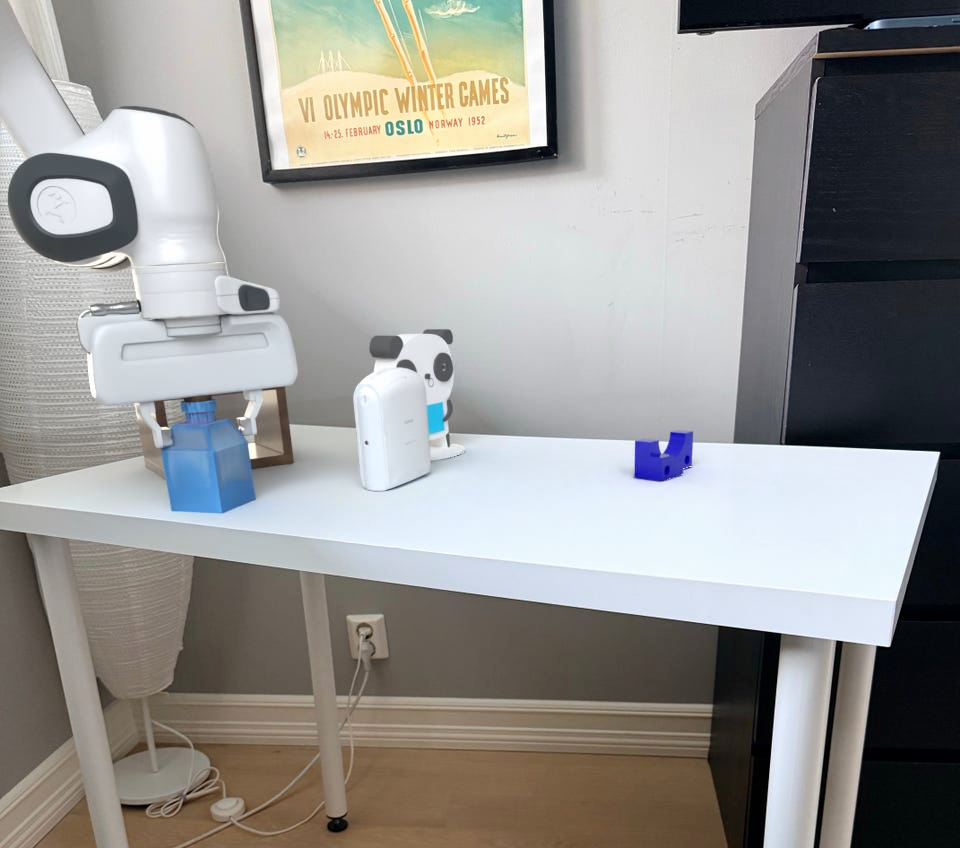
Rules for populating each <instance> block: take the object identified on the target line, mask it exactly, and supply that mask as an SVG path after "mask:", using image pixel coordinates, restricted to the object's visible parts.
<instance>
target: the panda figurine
mask: <svg viewBox="0 0 960 848" xmlns="http://www.w3.org/2000/svg"><path fill="white" fill-rule="evenodd" d="M453 341H454V334H453V332H452V330H451V329H448V328H427V329H424V330H423V331H422V333H399V334H396V335H374V336H373V337H372V338H371V339H370V341H369V348H368V349H369V353H370V356H371V357H372V358H375V363H374V367H373V372H375V371H377V370H379V369H382V368H388V367H395V368H407V369H410V370H412V371H414V372H416V373H418V374H419V375H420V376H421V378H422V379H423V381H424V384H425V388H426V399H427V413H428V427H429V442H430V458H431V461H439V460H440V461H441V460H447V459H450V457H451V458H455V457H458V456H457V455H459V456H461V455H463V454H465V453H466V447H465V446H464V445H462V444H457V443H451V438H450V431H449V419H450V418H451V416H452V414H453V409H454V408H453V403H452V400H451V399H449V397H450V395H451V393H452V390H453V386H454V381H455V368H454V361H453V358H452V357H453V356H452V354H451V350H450V347H449V345H452V344H453ZM464 452H465V453H464ZM460 454H461V455H460ZM454 456H455V457H454Z"/></svg>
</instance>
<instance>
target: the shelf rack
mask: <svg viewBox="0 0 960 848" xmlns="http://www.w3.org/2000/svg"><path fill="white" fill-rule="evenodd" d="M262 393H263V402H262V405H261V407H260V410H259V412H258V415H257V417H256V418H255V421H256V428H257V435H253V439H254V442H251V443H250V442H249V443H248V448H249V455H250V462H251V469H252V470H253V469H260V468H266V467H273V466H279V465H288V464H294V463H295V460H294V451H293V443H292V435H291V434H292V433H291V426H290V425H291V424H290V419H289V410H288V408H289V407H288V401H287V392H286V386H283V387H274V388H265V389H262ZM237 394H244V393H243V391H239V392H230V393H221V394H212V397H219V396H228V395H237ZM178 400H180V401H181V400H184V399H183V398H177V399H168V400H159V401H154V405H155V411H156V412H155V413H150V415H151V416H152V417H153V418H154V420H155V421H156V422H157V423H158V425H159V426H160V427H168V428H169V424H168V418H167V411H166V406H165V402H168V401H178ZM133 405H134V410H135V414H136V415H135V416H136V421H137V426H138V432H139V437H140V443H141V449H142V454H143V460H144V466H145V468H148V469H149V470H150V471H152V472H154V473H155V474H156V475H158V476H159V477H161V478H162V479H163V480H165V481H166V477H165V471H164V465H163V459H162V454H161V450H162V448H157V447H156V446H155V443H154V438H153V432H152V429H150V427H149V426H148V425H147V424H146V423H145V421H144V420H143V419H142V418H141V417H140V415H139V414H138V413H137V409H136V404H135V403H133Z"/></svg>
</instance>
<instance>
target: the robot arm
mask: <svg viewBox="0 0 960 848" xmlns="http://www.w3.org/2000/svg"><path fill="white" fill-rule="evenodd" d="M0 122H1V124H2V126H3V127H4V129H5V130H6V131H7V133H8V135H9V136H10V137H11V140H13V142H14V144H15V145H16V147H17V148H18V150H19V152H20V153H21V155H22V156H23V157H24V159H25V160H24V161H23V162H22V163H21V164H20V165H19V166H18V167H17V168H16V170H15V171H14V172H13V174H12V176H11V179H10V181H9V183H8V188H7V189H8V190H7V208H8V213H9V217H10V220H11V222H12V224H13V227H14V229H15V231H16V232H17V234H18V235H19V237H20V238H21V239H22V241H23V242H24V243H25V244H26V245H27V246H28V247H29V248H30V249H31V250H33V251H34V252H35V253H37V255H40V256H42V257H43V258H46V259H48V260H50V261H52V262H55V263H58V264H61V265H64V266H70V267H77V268H87V269H90V270H92V271H96V272H101V273H115V272H119V271H123V270H125V269H127V268H129V267H131V273H132V278H133V285H134V289H135V297H136V300H129V301H127V300H126V301H119V302H115V303H114V302H113V303H102V302H101V303H100V302H98V303H92V304H89V305H88V308H86V309H83V310H82V311H81V312H80V313H79V314H78V316H77V317H76V320H75V329H76V334H77V339H78V343H79V345H80V347H81V349H82V350H83V351H84V352H85V353H86V354H87V356H86V357H87V371H88V372H87V373H88V381H89V387H90V393H91V395H92V397H93V399H95V401H97V402H98V403H99V404H101V405H103V406H106V407H114V406H124V405H132V404H133V405H135V404H136V409H137V413H138V414H139V415H140V417H141V418H142V419H143V420H144V421H145V423H146V424H147V425H148V426H149V427H150V429H152V432H153V438H154V443H155V446H156V447H157V448H163V447H169V446H173V440H172V439H171V436H172V435H171V428H169V426H168V427H160V426H159V425H158V423H157V422H156V421H155V420H154V418H153V417H152V416H151V415H150V413H155V412H156V411H155V405H154V401H159V400H168V399H177V398H186V397H194V396H201V395H212V394H221V393H230V392H239V391H243V393H242V394H243V399H244V400H246V401H248V404H247V406H246V410H245V412H244V415H243V416H241V417H236V423H237V426H238V427H237V429H238V430H239V431H240V433H241V434H242V435H243V436H244V437H249V436H254V435H257V428H256V421H255V418H256V417H257V415H258V412H259V410H260V407H261V405H262V402H263V393H262V389H265V388H274V387H283V386H285V387H291V386H292V385H294V383H295V381H296V380H297V378H298V376H299V368H298V361H297V355H296V350H295V346H294V341H293V338H292V334H291V331H290V327H289V325H288V323H287V322H286V320H285V319H284V318H283V317H282V316H281V315H280V314H278V313H275V312H277V311H278V310H279V309H280V306H281V303H280V302H281V299H280V295H279V292H278V291H277V290H276V289H274V288H272V287H270V286H269V287H268V286H264V285H261V284H258V283H253V282H250V281H248V280H245V279H239V278H235V277H231V276H230V275H229V271H228V264H227V260H226V259H227V258H226V256H225V253H224V251H223V248H222V246H221V244H220V239H219V234H218V233H219V230H218V229H219V221H220V210H219V202H218V197H217V190H216V184H215V180H214V174H213V170H212V166H211V165H212V164H211V161H210V157H209V152H208V150H207V146H206V143H205V140H204V139H203V136H202V135H201V132H200V131H199V129H197V128H196V127H195V126H194V124H192V123H191V122H190V121H189V120H187V119H186V118H185V117H184V116H181V115H179V114H177V113H174V112H169V111H167V110H165V109H164V110H163V109H159V108H155V107H147V106H141V105H123V106H120V107H116V108H114V109H113V110H112V111H111V112H110V113H109V114H108V116H107V117H106V118H105V119H104V120H103V121H102V122H101V123H100V124H99V125H98V126H96V127H95V128H93V129H92V130H90V131H89V132H87V133H85V132H84V130H83V128H82V127H81V125H80V124H79V122H78V121H77V118H76V117H75V116H74V114H73V112H72V111H71V109H70V108H69V106H68V104H67V103H66V101H65V100H64V98H63V96H62V95H61V93H60V92H59V90H58V88H57V87H56V85H55V84H54V82H53V80H52V79H51V77H50V75H49V73H48V72H47V71H46V69H45V67H44V66H43V64H42V62H41V61H40V59H39V57H38V55H37V54H36V52H35V51H34V49H33V47H32V45H31V43H30V42H29V40H28V38H27V36H26V34H25V32H24V30H23V28H22V26H21V24H20V22H19V19H18V17H17V16H16V13H15V12H14V9H13V7H12V5H11V2H10V1H9V0H0ZM88 314H90V316H87V315H88ZM134 403H135V404H134Z"/></svg>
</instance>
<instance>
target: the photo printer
mask: <svg viewBox="0 0 960 848" xmlns="http://www.w3.org/2000/svg"><path fill="white" fill-rule="evenodd" d="M352 400H353V401H352V402H353V411H354V420H355V431H356V440H357V451H358V462H359V471H360V482H361V485H362V487H363V488H365V490H367V491H370V492H371V491H372V492H385V491H388V490H390V489H393V488H396V487H399V486H402V485H404V484H406V483H409V482H411V481H414V480H416V479H418V478H420V477H422V476H425V475H427V474H429V473H430V472H431V469H432V460H431V458H430V442H429V427H428V413H427V399H426V388H425V384H424V381H423V379H422V378H421V376H420V375H419V374H418V373H416V372H414V371H412V370H410V369H407V368H395V367H388V368H382V369H379V370H377V371H375V372H374V371H373V372H371V373H369V374H368V375H367V376H365V377H364V378H363V379H362V380H361V381H360V382H359V383H358V384H357V385H356V387H355V389H354V392H353V399H352Z"/></svg>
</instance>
